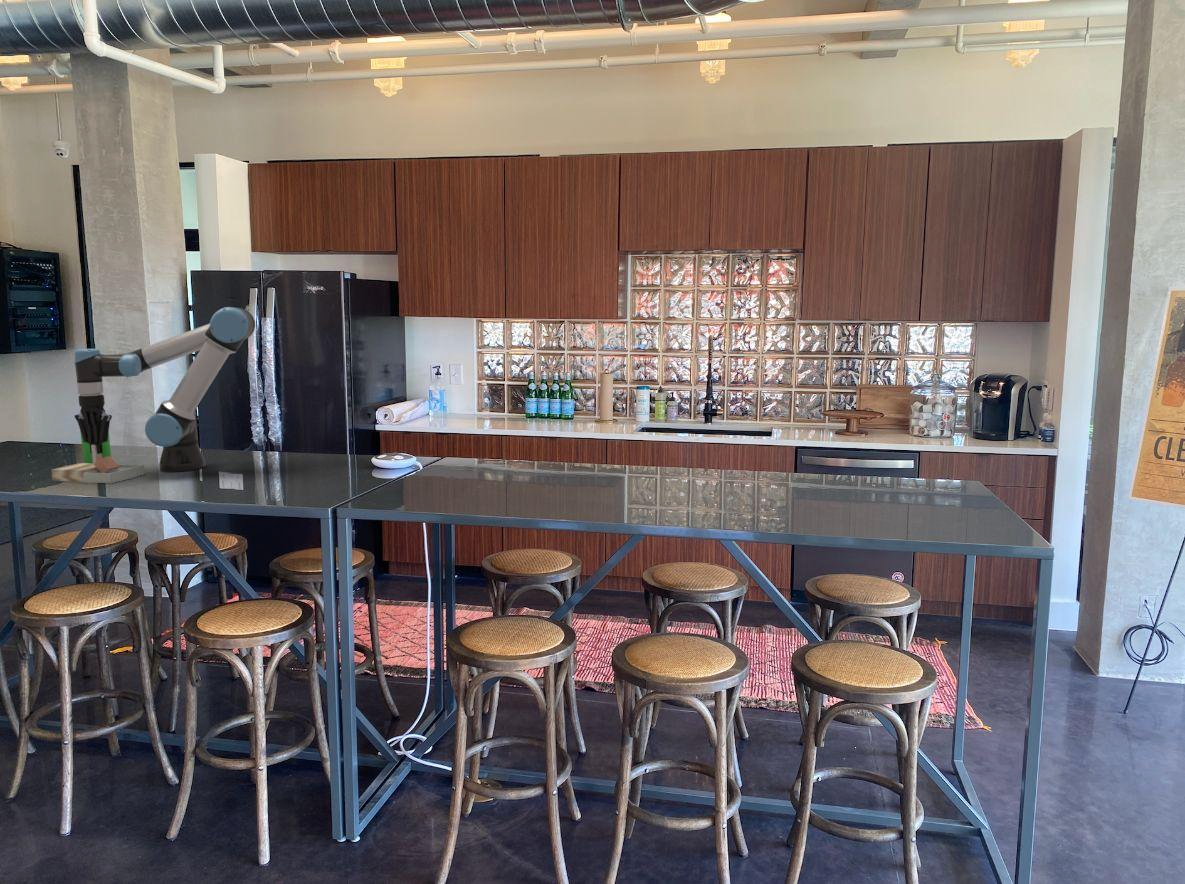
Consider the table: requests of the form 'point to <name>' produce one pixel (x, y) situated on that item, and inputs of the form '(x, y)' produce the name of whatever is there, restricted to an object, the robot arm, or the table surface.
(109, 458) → the tile terracotta
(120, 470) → the tile slate
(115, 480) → the box
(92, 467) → the bench plate
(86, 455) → the bottle
